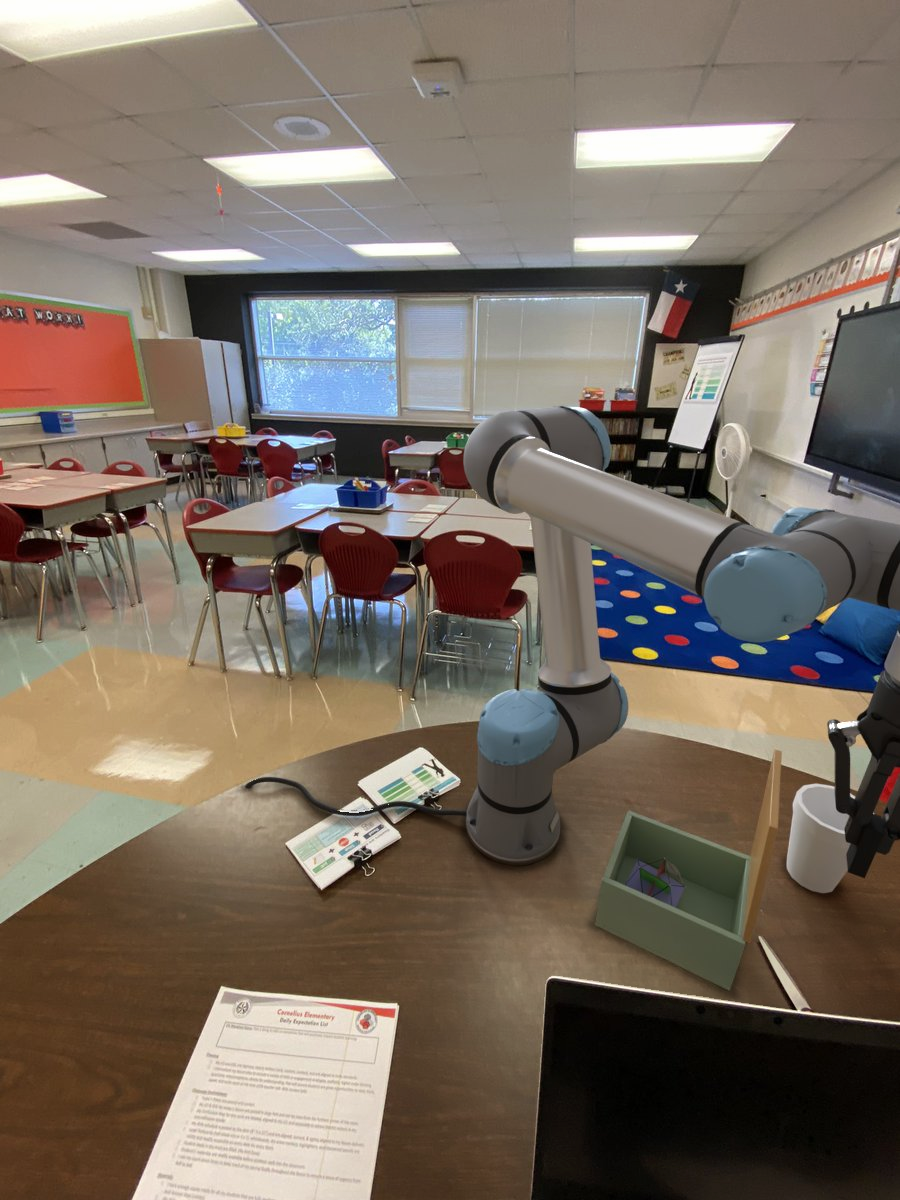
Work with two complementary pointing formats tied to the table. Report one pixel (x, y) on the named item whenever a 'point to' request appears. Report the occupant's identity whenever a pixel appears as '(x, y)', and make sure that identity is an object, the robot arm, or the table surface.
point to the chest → (704, 912)
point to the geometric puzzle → (657, 882)
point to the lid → (763, 845)
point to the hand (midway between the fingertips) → (855, 865)
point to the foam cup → (817, 839)
